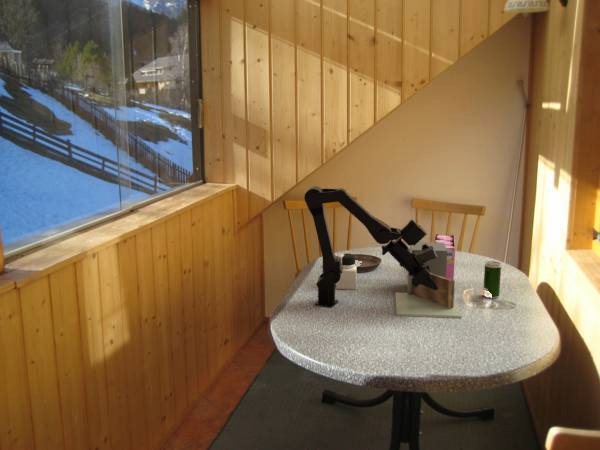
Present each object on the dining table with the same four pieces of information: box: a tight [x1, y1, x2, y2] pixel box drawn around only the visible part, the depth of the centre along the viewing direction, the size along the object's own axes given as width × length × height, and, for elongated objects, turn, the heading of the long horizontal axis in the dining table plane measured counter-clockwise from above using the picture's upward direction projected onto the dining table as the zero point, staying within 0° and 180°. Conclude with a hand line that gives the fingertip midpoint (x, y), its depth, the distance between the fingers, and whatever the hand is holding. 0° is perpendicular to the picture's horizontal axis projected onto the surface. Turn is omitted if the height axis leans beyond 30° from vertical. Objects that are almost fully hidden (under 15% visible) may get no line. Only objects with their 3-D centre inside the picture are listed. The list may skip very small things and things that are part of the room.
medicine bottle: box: [335, 253, 358, 290], centre depth 230 cm, size 7×7×12 cm
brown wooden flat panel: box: [413, 273, 455, 308], centre depth 211 cm, size 18×1×9 cm, turn 32°
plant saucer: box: [335, 253, 382, 273], centre depth 257 cm, size 21×21×3 cm
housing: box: [395, 241, 463, 319], centre depth 214 cm, size 34×20×16 cm, turn 172°
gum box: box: [433, 233, 456, 281], centre depth 245 cm, size 24×8×14 cm, turn 167°
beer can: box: [482, 260, 502, 300], centre depth 218 cm, size 5×5×12 cm
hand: (436, 289), depth 207 cm, fingers closed
